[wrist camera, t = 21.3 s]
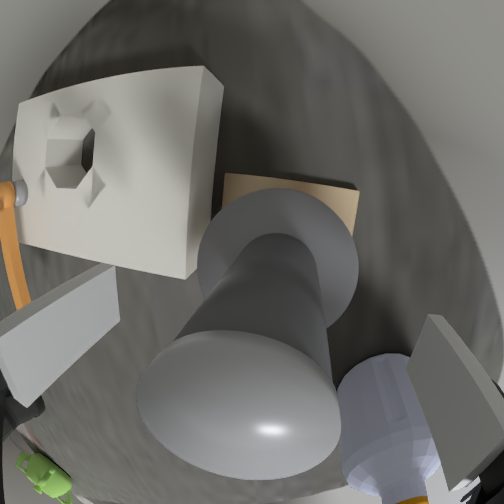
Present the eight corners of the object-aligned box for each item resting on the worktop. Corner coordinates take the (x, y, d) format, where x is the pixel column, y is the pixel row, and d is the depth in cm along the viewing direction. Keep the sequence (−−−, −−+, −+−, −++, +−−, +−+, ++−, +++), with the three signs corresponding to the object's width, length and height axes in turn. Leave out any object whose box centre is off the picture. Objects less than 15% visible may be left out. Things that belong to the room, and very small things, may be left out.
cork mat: (217, 292, 24) (215, 295, 24) (227, 172, 21) (225, 172, 21) (334, 311, 23) (334, 314, 22) (357, 190, 20) (359, 191, 19)
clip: (2, 182, 18) (-7, 184, 17) (14, 179, 17) (4, 181, 16) (30, 331, 22) (23, 336, 21) (44, 337, 22) (37, 342, 20)
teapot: (58, 461, 51) (37, 489, 38) (87, 491, 57) (70, 516, 43) (26, 440, 55) (6, 463, 41) (53, 472, 60) (37, 493, 46)
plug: (211, 277, 23) (79, 436, 7) (244, 169, 20) (72, 157, 4) (315, 315, 22) (320, 519, 6) (360, 210, 20) (514, 319, 4)
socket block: (47, 230, 26) (5, 244, 20) (51, 107, 22) (9, 102, 16) (207, 257, 23) (177, 287, 17) (224, 86, 19) (196, 58, 13)
